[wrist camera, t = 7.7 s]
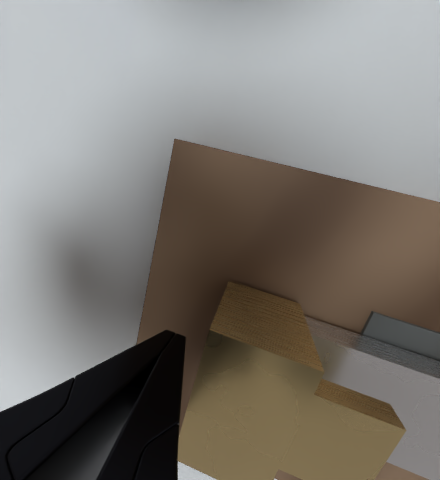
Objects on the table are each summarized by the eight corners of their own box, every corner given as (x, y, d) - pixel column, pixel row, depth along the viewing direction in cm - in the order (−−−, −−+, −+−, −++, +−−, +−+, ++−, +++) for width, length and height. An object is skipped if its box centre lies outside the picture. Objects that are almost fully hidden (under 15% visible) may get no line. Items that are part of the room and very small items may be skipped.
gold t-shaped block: (364, 325, 8) (435, 413, 5) (317, 419, 9) (348, 541, 6) (229, 280, 9) (209, 330, 5) (202, 373, 10) (172, 458, 7)
